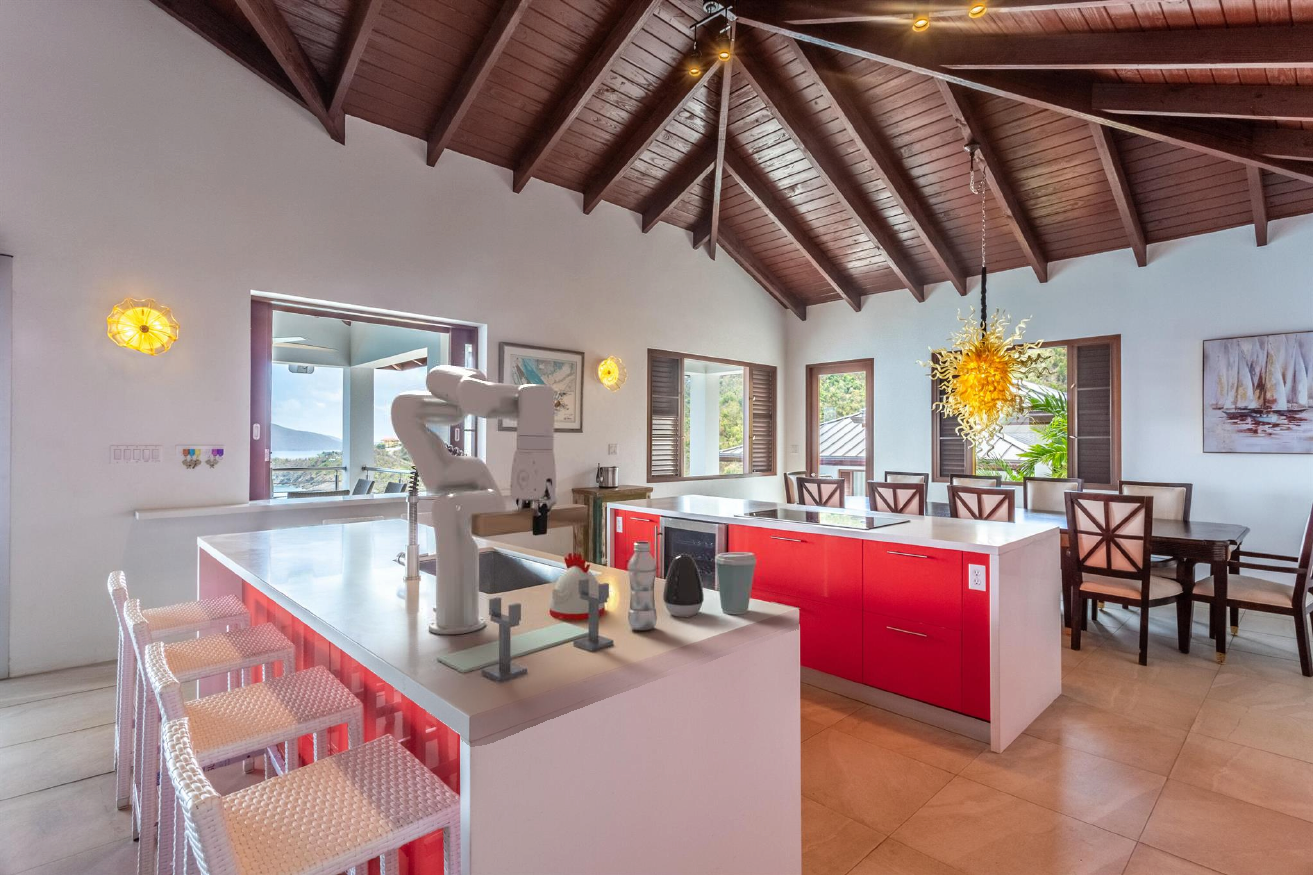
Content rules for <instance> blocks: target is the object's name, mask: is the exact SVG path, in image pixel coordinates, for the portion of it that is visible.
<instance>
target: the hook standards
mask: <svg viewBox="0 0 1313 875" xmlns="http://www.w3.org/2000/svg"><path fill="white" fill-rule="evenodd" d="M579 594H580V599H583V600H587V601H589V619H588V630H589V635H587V636H584V637H580V638H577V639H574V640H573V643H572V644H573V646H574V647H577V648H580V649H582V650H585V651H588V652H591V653H594V652H597V651H600V650H602V649H606V648H608V647H612V646H614V644H615V643H614V639H610V638H608V637H605V636H602V635H599V634H600V633H599V628H600V627H599V625H600V624H599V619H600V618H599V617H600V616H599V604H603V603H605V604H606V603H608V599H609V598H610V583H609V582H604V583H600V584H599V595H595V594H592V593H589V579H587V578H585V579H580V580H579ZM488 615H489V616H490V622H493V623H496V624H498V640H499V663H496V664H492V665H489V666H486V667H483V668H481V675H482V676H483V677H486V678H488V679H490V680H492V681H495V682H496V681H497V682H496V683H498V684H501V683H505V682H507V681H510V680H513V679H516V678H519V677H520V678H521V677H523V676H525V675H528V672H529V671H528V669H529V668H528V667H525V666H523V665H521V664H518V663H516V662H513V661H511V659H510V637H511V630H512V629H511V628H514V627H518V626H520V622H521V621H522V603H519V602H518V603H517V602H516V603H512V604H508V615H506V614H503V613H502V597H499V596H497V597H493V598H489V599H488ZM504 681H505V682H504Z"/></svg>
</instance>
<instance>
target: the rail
mask: <svg viewBox="0 0 1313 875" xmlns="http://www.w3.org/2000/svg"><path fill="white" fill-rule="evenodd" d="M588 508H589V506H588V505H584V504H579V503H573V504H564V505H563V504H562V505H554V506H553V507H552V508H551V510H550V511H549V515H547V530H549V529H558V528H560V529H561V528H567V527H575V526H583V525H588V514H589V512H588V511H589V510H588ZM533 516H536V515H535V507H532V508H527V509H518V508H516V509H508V510H507V509H506V510H505V511H494V512H483V513H472V525H471V531H470V534H471V536H472V535H473V536H476V537H481V538H484V537H485V538H487V537H494V536H503V535H510V534H519V533H527V532H528V531H529V532H533Z"/></svg>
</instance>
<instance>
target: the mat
mask: <svg viewBox="0 0 1313 875" xmlns="http://www.w3.org/2000/svg"><path fill="white" fill-rule="evenodd" d="M587 636H589V629H587V628H584V627H581V626H577V625H575V624H571V623H568V622H560V623H556V624H552V625H549V626H546V627H542V628H538V629H534V630H531V631H528V632H524V633H520V634H517V635H513V636H510V660H512V659H515V658H518V657H521V656H526V655H528V654H532V653H534V652H538V651H541V650H544V649H546V648H550V647H555V646H557V645H560V644H564V643H567V642H570V641H574V640H578V639H581V638H584V637H587ZM437 660H438V662H439V661H441V662H442V664H443V663H444V664H443V665H445V664H446V666H447V665H449V666H450V667H449V666H448V667H449V668H451V667H453V668H454V670H455V669H457V670H456V671H458V670H459V671H458V672H460V673H462V672H463V673H462V674H466V673H469V671H470V672H472V671H471V670H473V671H475V669H476V670H479V669H484V668H487V667H490V666H493V665H497V664H499V639H498V640H496V641H491V642H488V643H484V644H480V645H476V646H473V647H470V648H466V649H462V650H458V651H456V652H451V653H448V654H445V655H441V656H437V657H436V661H437ZM441 662H440V663H441ZM453 668H452V669H453ZM465 672H466V673H465Z"/></svg>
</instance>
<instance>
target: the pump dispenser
mask: <svg viewBox="0 0 1313 875" xmlns="http://www.w3.org/2000/svg"><path fill="white" fill-rule="evenodd" d="M695 558H696V555H695V554H694V553H691V554H690V555H689V554H687V553H679V554H677V555H675V557H674V558H673V559H672V561H671V562H670V564H669V567H668V570H667V572H666V573H667V574H666V577H665V582H664V587H663V594H662V596H663V597H662V599H663V600H662V601H663V602H664V606H665V608H666V610H667V612H669V614H671V615H673V616H675V617H680V618H689V617H693V616H695V615H696V614H698V613H699V612H700V610H701V608H702V606H703V602H704V599H705V597H704V596H705V595H704V589H703V588H704V587H703V583H702V578H701V575H700V572H699V568H698V565H697V563H696V562H695V560H694V559H695Z"/></svg>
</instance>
